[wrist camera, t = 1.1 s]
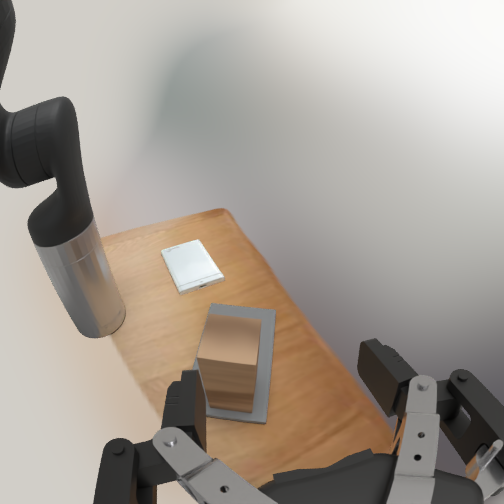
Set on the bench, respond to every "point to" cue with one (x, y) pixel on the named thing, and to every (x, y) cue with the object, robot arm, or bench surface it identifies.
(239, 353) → the light brown wooden block
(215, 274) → the hard drive
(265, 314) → the rubber mat
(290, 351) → the bench surface
